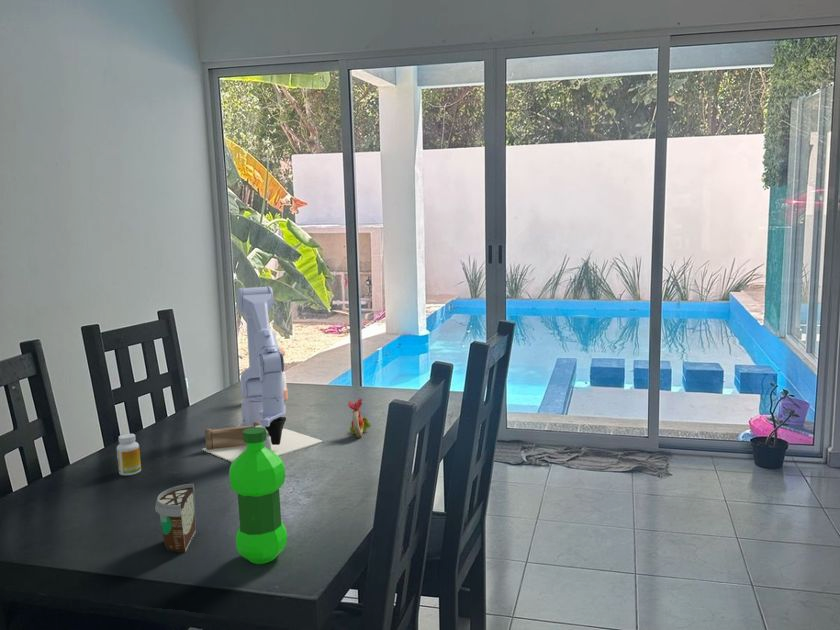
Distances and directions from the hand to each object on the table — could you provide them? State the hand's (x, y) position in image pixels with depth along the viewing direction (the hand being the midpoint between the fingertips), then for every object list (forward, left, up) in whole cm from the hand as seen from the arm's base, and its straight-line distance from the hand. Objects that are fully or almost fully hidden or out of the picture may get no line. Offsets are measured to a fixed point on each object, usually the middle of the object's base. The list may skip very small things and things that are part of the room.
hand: (275, 444), depth 200 cm
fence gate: (-2, -3, -1) cm, 3 cm away
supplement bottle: (-16, -34, -2) cm, 37 cm away
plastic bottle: (+50, -38, -2) cm, 63 cm away
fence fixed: (-12, -6, -1) cm, 13 cm away
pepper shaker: (-47, +33, -2) cm, 57 cm away
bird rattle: (+7, +24, -2) cm, 25 cm away
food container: (+31, -46, -2) cm, 55 cm away
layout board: (-6, 0, -2) cm, 7 cm away
